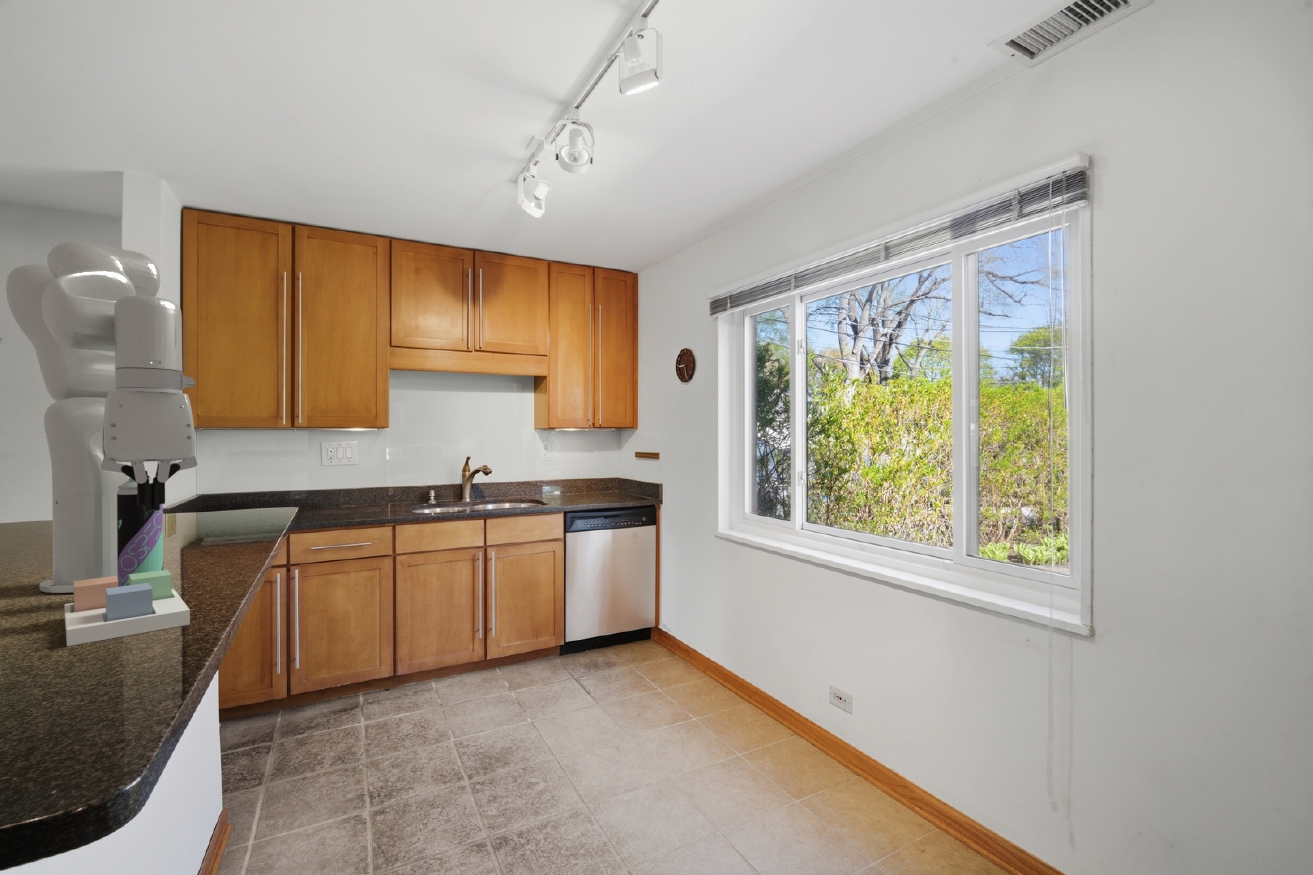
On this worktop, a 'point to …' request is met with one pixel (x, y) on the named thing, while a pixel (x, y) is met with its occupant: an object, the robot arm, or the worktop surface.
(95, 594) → the terracotta key
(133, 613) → the slate key
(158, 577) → the sage key
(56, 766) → the worktop surface
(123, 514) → the spray can
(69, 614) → the key console
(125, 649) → the worktop surface
